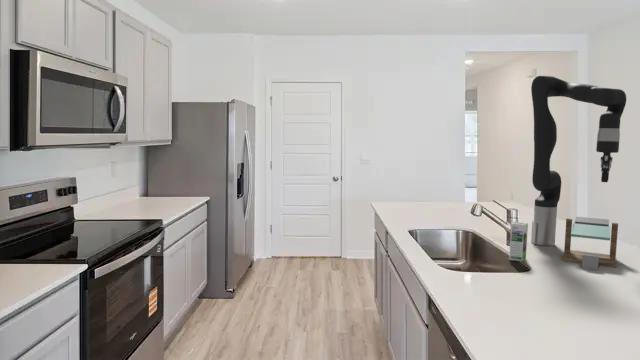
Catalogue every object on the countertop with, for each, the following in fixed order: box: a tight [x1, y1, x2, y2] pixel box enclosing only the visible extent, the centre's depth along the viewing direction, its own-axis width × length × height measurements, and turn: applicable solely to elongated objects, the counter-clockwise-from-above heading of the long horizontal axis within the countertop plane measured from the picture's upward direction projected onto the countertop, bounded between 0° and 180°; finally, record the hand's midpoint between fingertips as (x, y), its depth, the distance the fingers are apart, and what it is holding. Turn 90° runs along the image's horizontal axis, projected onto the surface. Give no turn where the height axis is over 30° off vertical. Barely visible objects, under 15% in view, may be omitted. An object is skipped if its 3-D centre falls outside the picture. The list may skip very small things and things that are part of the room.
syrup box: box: [508, 221, 529, 262], centre depth 184 cm, size 6×6×14 cm
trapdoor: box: [571, 216, 611, 242], centre depth 188 cm, size 20×13×4 cm, turn 148°
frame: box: [561, 218, 619, 269], centre depth 187 cm, size 19×18×14 cm
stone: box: [581, 251, 599, 271], centre depth 174 cm, size 5×5×5 cm
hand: (604, 181), depth 187 cm, fingers open, 8 cm apart
